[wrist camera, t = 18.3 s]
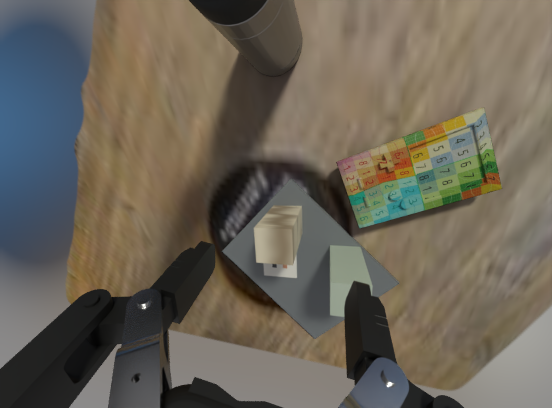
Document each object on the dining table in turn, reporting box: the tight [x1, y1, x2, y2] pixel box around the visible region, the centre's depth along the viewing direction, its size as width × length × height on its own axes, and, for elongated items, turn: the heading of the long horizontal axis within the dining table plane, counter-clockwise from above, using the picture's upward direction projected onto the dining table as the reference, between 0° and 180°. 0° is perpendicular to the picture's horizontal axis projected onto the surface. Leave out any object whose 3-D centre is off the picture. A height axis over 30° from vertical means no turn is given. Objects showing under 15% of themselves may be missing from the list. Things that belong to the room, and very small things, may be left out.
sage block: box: [330, 245, 373, 317], centre depth 37 cm, size 6×6×12 cm
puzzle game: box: [336, 108, 502, 228], centre depth 35 cm, size 12×5×20 cm
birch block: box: [254, 205, 302, 265], centre depth 37 cm, size 6×6×12 cm
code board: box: [222, 179, 399, 339], centre depth 45 cm, size 28×22×1 cm
